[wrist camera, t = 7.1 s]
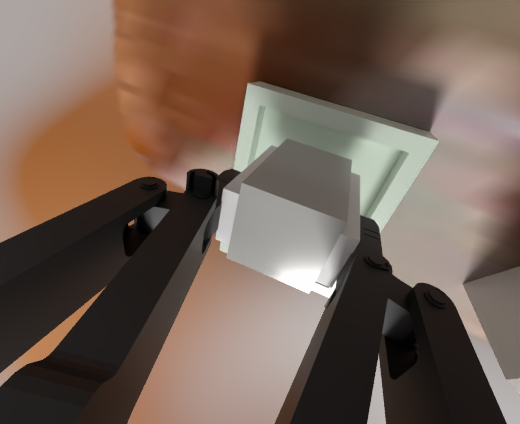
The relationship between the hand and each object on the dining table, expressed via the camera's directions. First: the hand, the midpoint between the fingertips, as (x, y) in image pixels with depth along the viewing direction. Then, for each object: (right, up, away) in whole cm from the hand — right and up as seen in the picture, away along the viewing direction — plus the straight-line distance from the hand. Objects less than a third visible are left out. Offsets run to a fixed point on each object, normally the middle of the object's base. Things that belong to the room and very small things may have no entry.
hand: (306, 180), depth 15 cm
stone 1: (0, 0, 0) cm, 0 cm away
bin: (+1, -1, +4) cm, 4 cm away
